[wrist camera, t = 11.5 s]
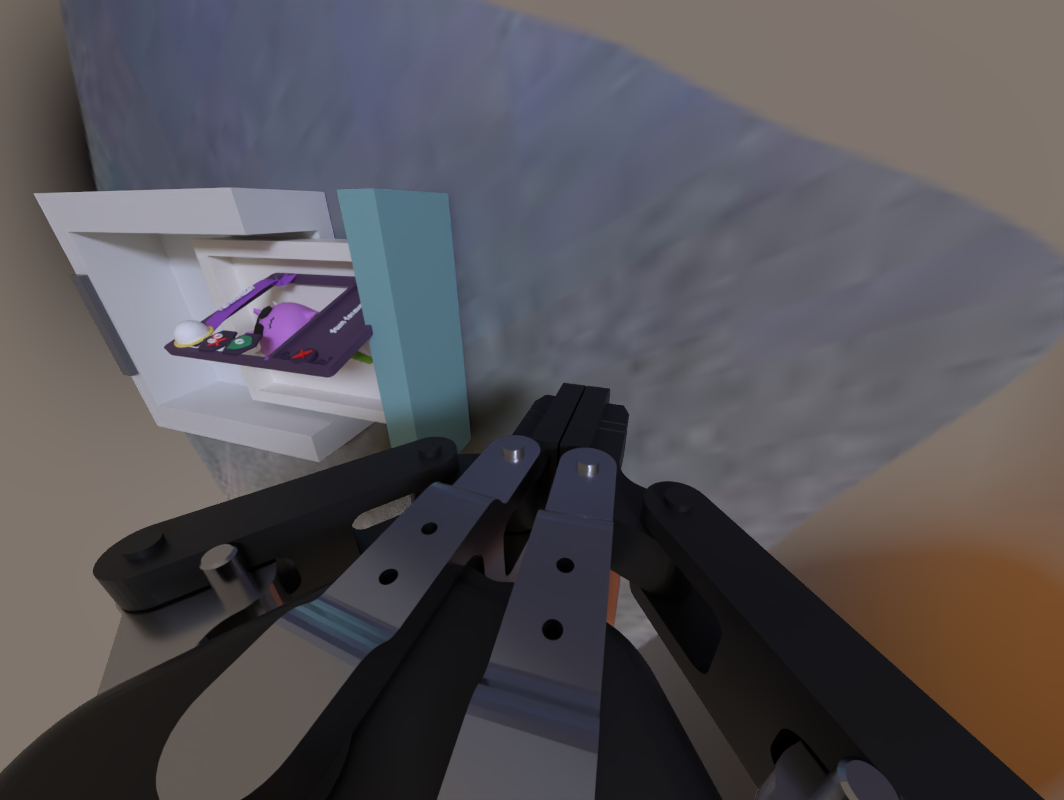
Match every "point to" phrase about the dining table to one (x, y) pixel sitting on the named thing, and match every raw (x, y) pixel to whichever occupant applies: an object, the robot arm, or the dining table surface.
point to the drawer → (364, 312)
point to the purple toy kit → (283, 331)
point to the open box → (186, 303)
